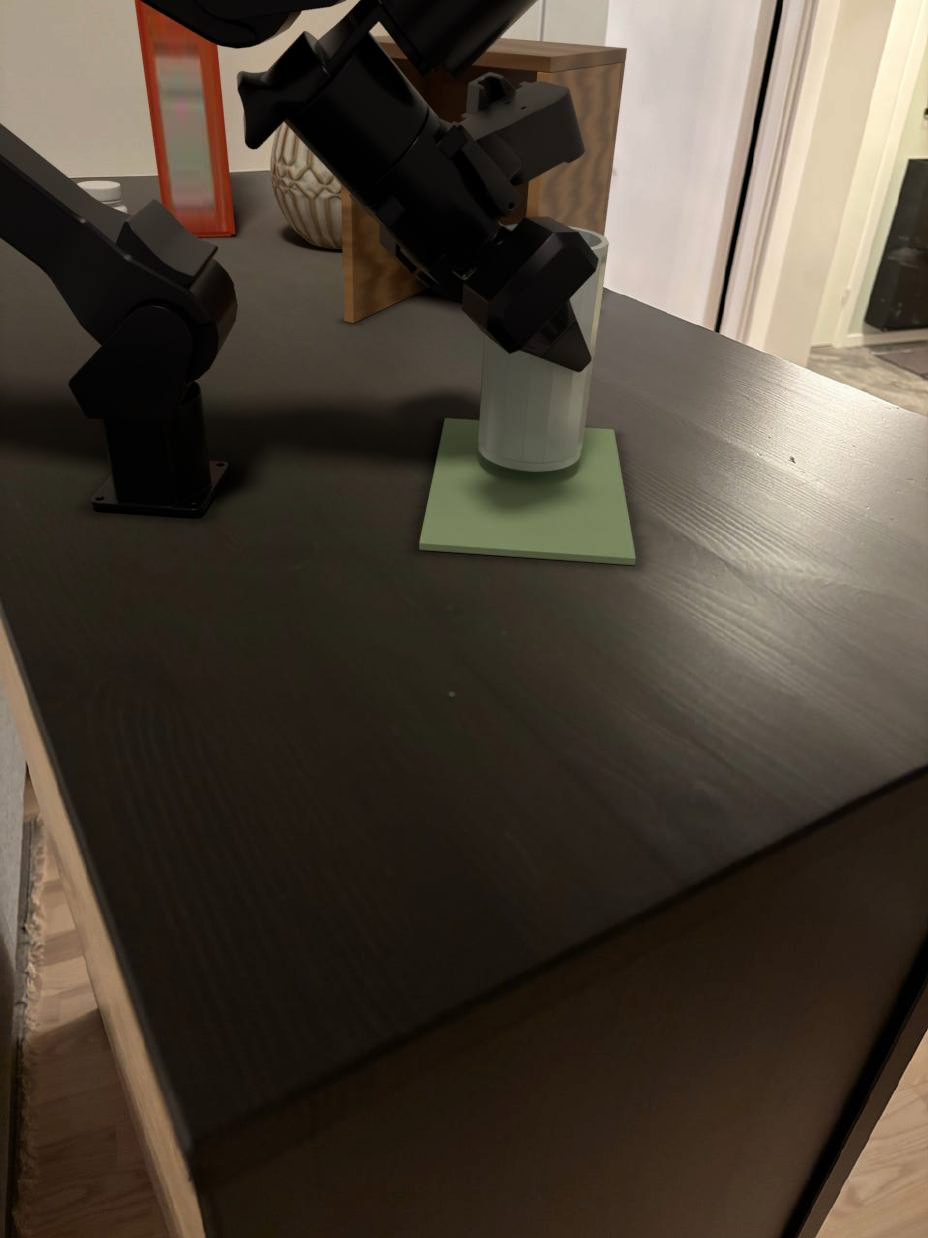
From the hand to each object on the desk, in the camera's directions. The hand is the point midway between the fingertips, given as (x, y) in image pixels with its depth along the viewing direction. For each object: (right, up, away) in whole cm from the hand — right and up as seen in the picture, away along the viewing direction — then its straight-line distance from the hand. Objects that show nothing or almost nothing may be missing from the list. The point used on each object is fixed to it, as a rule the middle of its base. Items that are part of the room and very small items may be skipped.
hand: (559, 346), depth 58 cm
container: (-2, -6, +3) cm, 7 cm away
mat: (-2, -8, +3) cm, 9 cm away
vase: (-20, +27, +54) cm, 63 cm away
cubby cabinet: (-5, +12, +31) cm, 34 cm away
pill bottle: (-41, +18, +38) cm, 58 cm away
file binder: (-38, +32, +59) cm, 77 cm away
